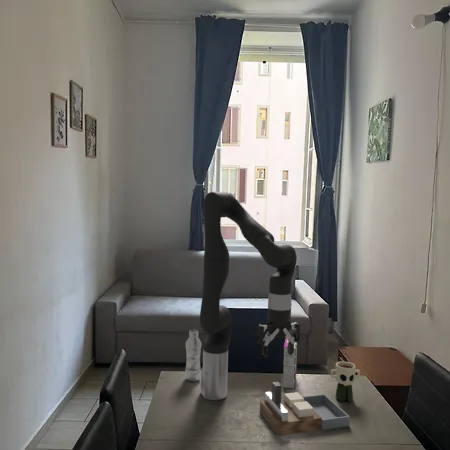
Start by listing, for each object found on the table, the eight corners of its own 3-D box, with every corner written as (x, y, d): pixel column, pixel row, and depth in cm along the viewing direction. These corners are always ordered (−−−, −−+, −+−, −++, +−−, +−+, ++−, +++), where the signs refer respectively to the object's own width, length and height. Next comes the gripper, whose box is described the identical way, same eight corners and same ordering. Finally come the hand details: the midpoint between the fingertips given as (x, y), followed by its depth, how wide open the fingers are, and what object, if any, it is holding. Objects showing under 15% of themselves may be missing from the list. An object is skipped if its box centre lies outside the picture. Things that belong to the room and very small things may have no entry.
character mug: (332, 403, 165) (333, 368, 164) (327, 394, 172) (328, 361, 171) (361, 403, 165) (363, 368, 164) (355, 395, 172) (357, 361, 171)
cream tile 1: (290, 407, 152) (290, 400, 152) (284, 400, 157) (284, 393, 157) (303, 405, 154) (303, 398, 154) (297, 399, 159) (297, 392, 158)
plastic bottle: (188, 384, 178) (189, 334, 176) (182, 378, 184) (183, 329, 182) (203, 381, 181) (204, 332, 179) (196, 375, 187) (197, 327, 185)
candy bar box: (284, 376, 188) (285, 337, 187) (296, 378, 187) (297, 338, 186) (281, 387, 177) (283, 346, 176) (294, 389, 176) (296, 347, 175)
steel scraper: (282, 422, 142) (283, 394, 142) (264, 400, 157) (265, 375, 156) (288, 421, 143) (289, 393, 142) (270, 400, 157) (271, 374, 157)
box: (322, 430, 146) (322, 420, 145) (299, 406, 162) (299, 396, 162) (349, 427, 148) (350, 416, 148) (324, 403, 165) (324, 394, 164)
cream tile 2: (299, 417, 146) (299, 409, 146) (292, 410, 150) (292, 402, 150) (313, 415, 147) (313, 408, 147) (306, 408, 152) (306, 401, 152)
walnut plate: (277, 435, 142) (278, 423, 142) (259, 411, 157) (260, 400, 157) (321, 429, 146) (321, 417, 146) (299, 407, 161) (300, 396, 161)
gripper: (294, 302, 153) (293, 349, 154) (254, 304, 149) (253, 352, 150) (304, 308, 146) (302, 357, 147) (263, 310, 142) (261, 361, 143)
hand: (277, 355), depth 149 cm, fingers open, 8 cm apart
